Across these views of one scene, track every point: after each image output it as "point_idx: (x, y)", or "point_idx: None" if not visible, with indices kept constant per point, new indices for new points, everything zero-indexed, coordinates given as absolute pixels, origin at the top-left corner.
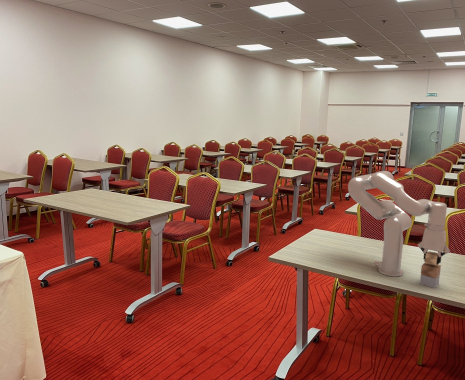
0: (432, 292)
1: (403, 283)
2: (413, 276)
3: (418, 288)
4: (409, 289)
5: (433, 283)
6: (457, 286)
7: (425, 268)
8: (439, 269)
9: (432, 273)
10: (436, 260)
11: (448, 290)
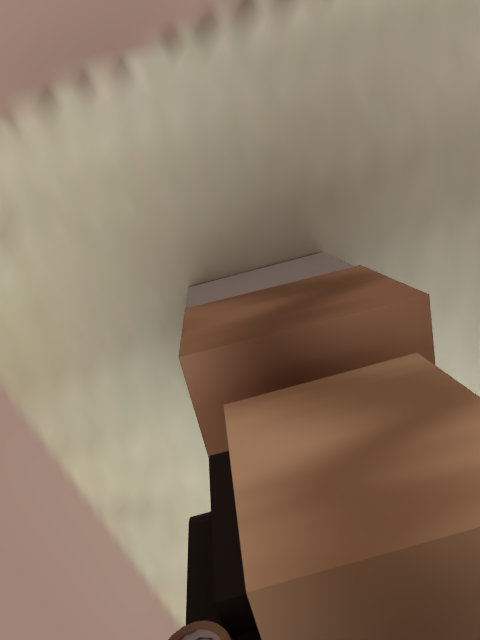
0: (143, 167)
1: (433, 118)
2: (439, 365)
3: (277, 135)
4: (321, 14)
5: (205, 291)
6: (105, 488)
7: (348, 301)
8: None
9: (232, 312)
10: (234, 481)
11: (93, 349)
